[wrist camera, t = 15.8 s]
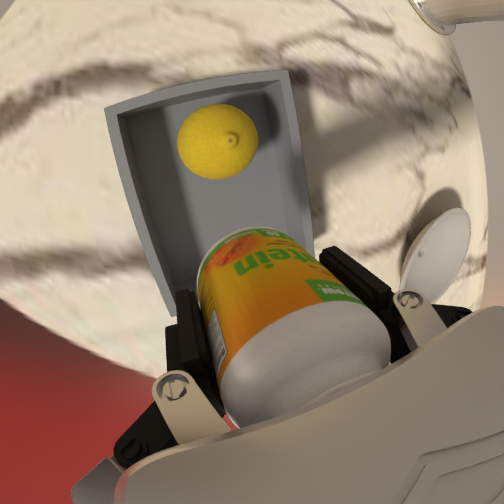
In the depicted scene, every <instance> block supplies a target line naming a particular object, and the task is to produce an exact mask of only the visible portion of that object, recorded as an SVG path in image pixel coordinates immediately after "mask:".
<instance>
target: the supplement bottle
mask: <svg viewBox="0 0 504 504" xmlns="http://www.w3.org/2000/svg"><path fill="white" fill-rule="evenodd" d="M197 293H198V299H199V304H200V309H201V313H202V318H203V323H204V328H205V332H206V336H207V341H208V346H209V350H210V354H211V358H212V362H213V366H214V370H215V375H216V379H217V383H218V387H219V391H220V395H221V399H222V401H223V404H224V407H225V410H226V412H227V414H228V416H229V418H230V420H231V421H232V422H233V423H234V424H235V425H236V426H237V427H238V428H239V429H240V428H243V427H247V426H250V425H253V424H256V423H259V422H263V421H266V420H269V419H272V418H275V417H277V416H280V415H283V414H286V413H288V412H291V411H294V410H296V409H299V408H301V407H304V406H306V405H309V404H311V403H314V402H316V401H318V400H321V399H323V398H325V397H328V396H330V395H332V394H334V393H337V392H339V391H341V390H343V389H345V388H347V387H349V386H351V385H353V384H355V383H357V382H359V381H361V380H363V379H365V378H367V377H369V376H371V375H373V374H375V373H376V372H378V371H380V370H382V369H384V368H385V367H387V366H389V362H390V356H391V342H390V337H389V334H388V331H387V329H386V327H385V326H384V324H383V323H382V322H381V320H380V319H379V318H378V317H377V316H376V315H375V314H374V313H373V312H372V311H371V310H370V309H369V308H368V307H367V306H366V305H365V304H364V303H363V302H362V301H361V300H360V299H358V298H357V297H356V296H355V295H354V294H353V293H352V292H351V291H350V290H349V289H347V288H346V287H345V286H344V285H343V284H342V283H341V282H340V281H339V280H338V279H337V278H336V277H335V276H334V275H333V274H331V273H330V272H329V271H328V270H327V269H326V268H325V267H324V266H323V265H322V264H321V263H319V262H318V261H317V260H316V259H315V258H314V257H313V256H312V255H310V254H309V253H308V252H307V251H306V250H305V249H304V248H303V247H302V246H301V245H300V244H299V243H297V242H296V241H295V240H294V239H292V238H291V237H290V236H288V235H287V234H285V233H284V232H282V231H280V230H277V229H274V228H270V227H265V226H252V227H246V228H242V229H238V230H236V231H233V232H231V233H229V234H227V235H226V236H224V237H223V238H221V239H220V240H218V241H217V242H216V243H215V244H214V245H213V246H212V247H211V248H210V249H209V251H208V252H207V253H206V255H205V257H204V258H203V260H202V262H201V265H200V268H199V271H198V276H197Z"/></svg>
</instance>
